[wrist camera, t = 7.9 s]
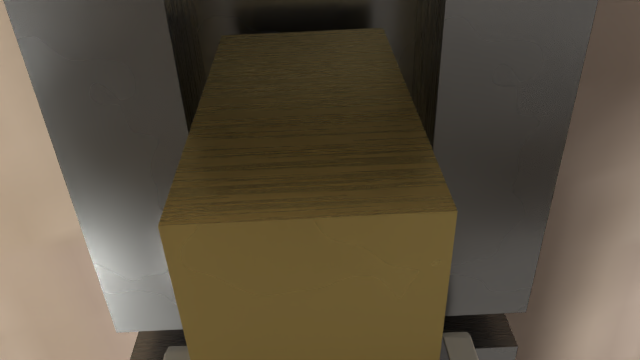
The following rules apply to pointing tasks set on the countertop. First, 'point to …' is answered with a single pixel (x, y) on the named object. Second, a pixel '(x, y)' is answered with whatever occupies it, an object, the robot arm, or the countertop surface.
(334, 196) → the tall mustard post
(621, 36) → the countertop surface
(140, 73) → the grey forked link
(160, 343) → the link
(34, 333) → the countertop surface
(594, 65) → the countertop surface
